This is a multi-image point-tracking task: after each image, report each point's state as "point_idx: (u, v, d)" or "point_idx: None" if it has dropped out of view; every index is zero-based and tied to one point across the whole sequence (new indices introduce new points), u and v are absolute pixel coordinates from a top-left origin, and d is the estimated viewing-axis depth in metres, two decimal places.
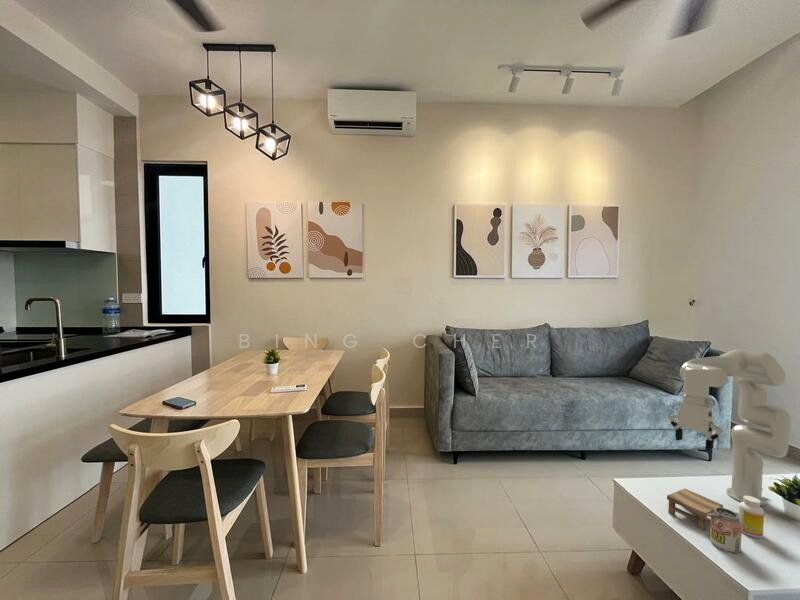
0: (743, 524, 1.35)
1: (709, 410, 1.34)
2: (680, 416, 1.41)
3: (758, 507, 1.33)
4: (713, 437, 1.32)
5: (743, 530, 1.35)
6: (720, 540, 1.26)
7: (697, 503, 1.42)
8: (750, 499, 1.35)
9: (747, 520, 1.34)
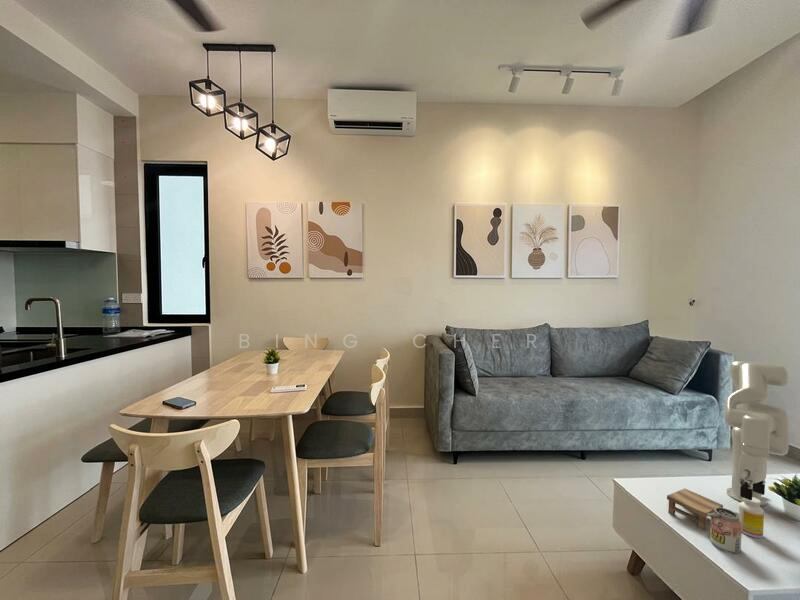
0: (743, 524, 1.35)
1: None
2: (756, 473, 1.31)
3: (758, 507, 1.33)
4: None
5: (743, 530, 1.35)
6: (720, 540, 1.26)
7: (697, 503, 1.42)
8: None
9: (747, 520, 1.34)
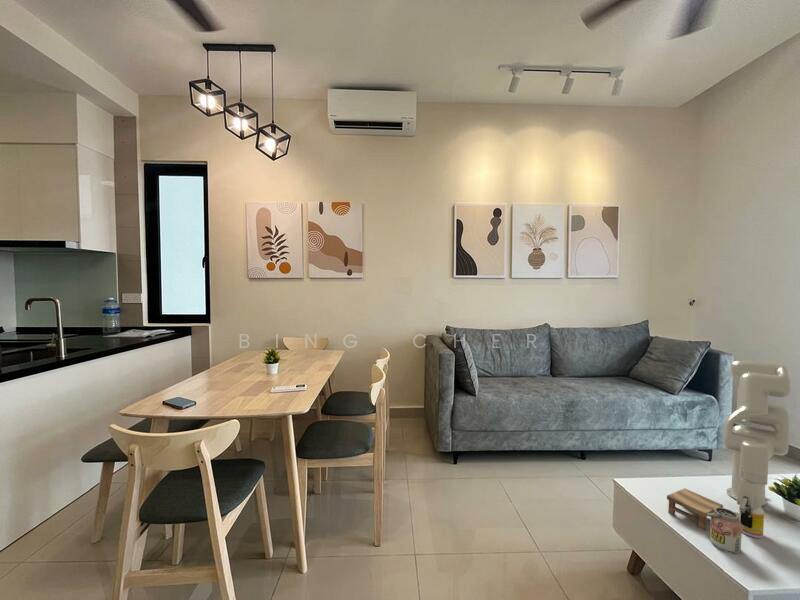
0: None
1: None
2: (755, 500, 1.32)
3: None
4: None
5: (743, 530, 1.35)
6: (720, 540, 1.26)
7: (697, 503, 1.42)
8: None
9: None
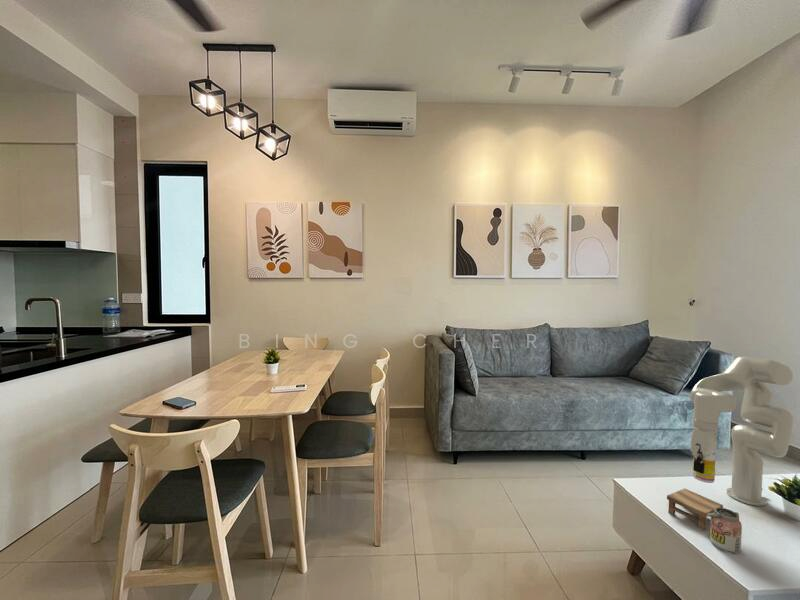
0: None
1: None
2: (706, 446, 1.38)
3: (710, 454, 1.40)
4: None
5: (696, 476, 1.42)
6: (720, 540, 1.26)
7: (697, 503, 1.42)
8: None
9: None
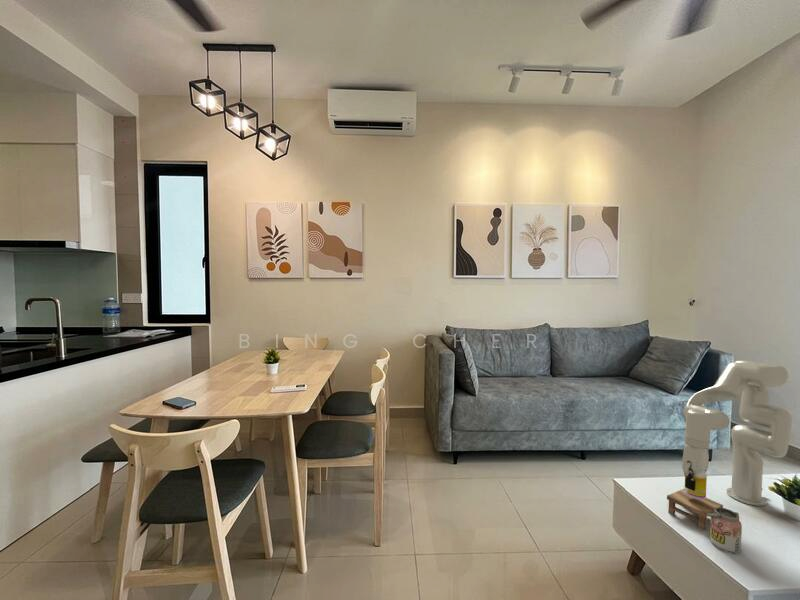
0: None
1: None
2: (697, 464, 1.40)
3: (701, 471, 1.42)
4: (705, 471, 1.45)
5: (688, 493, 1.43)
6: (720, 540, 1.26)
7: (697, 503, 1.42)
8: None
9: None
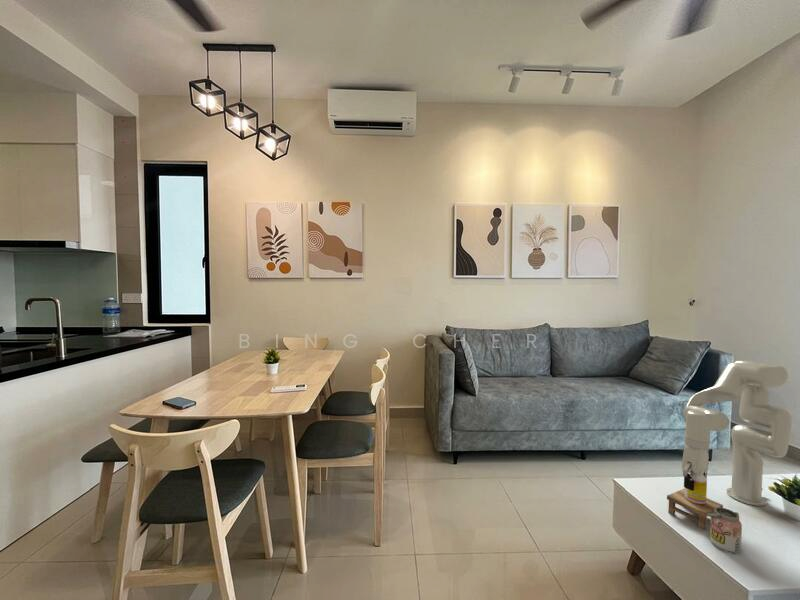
0: (688, 491, 1.43)
1: None
2: (697, 465, 1.40)
3: (701, 475, 1.42)
4: None
5: (688, 497, 1.43)
6: (720, 540, 1.26)
7: None
8: None
9: None
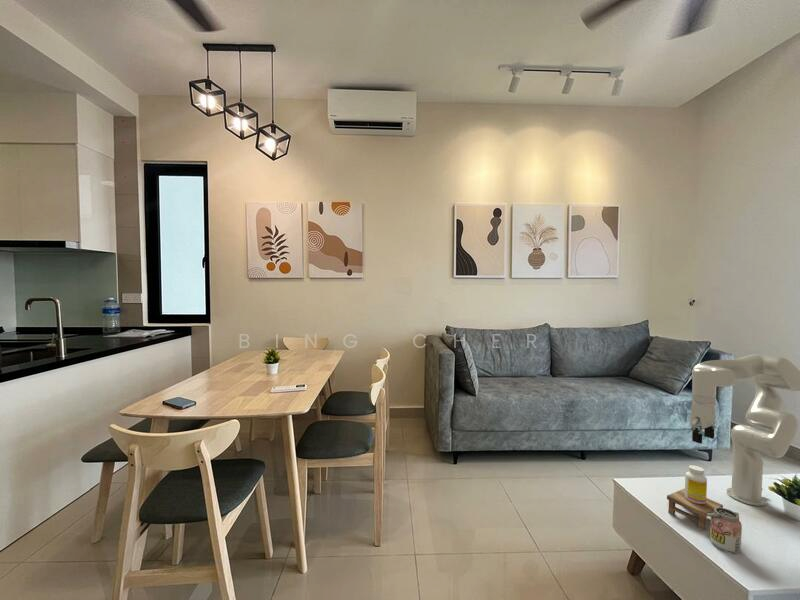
0: (688, 491, 1.43)
1: None
2: (705, 419, 1.46)
3: (701, 475, 1.42)
4: (713, 424, 1.52)
5: (688, 497, 1.43)
6: (720, 540, 1.26)
7: None
8: (694, 468, 1.43)
9: (691, 488, 1.42)
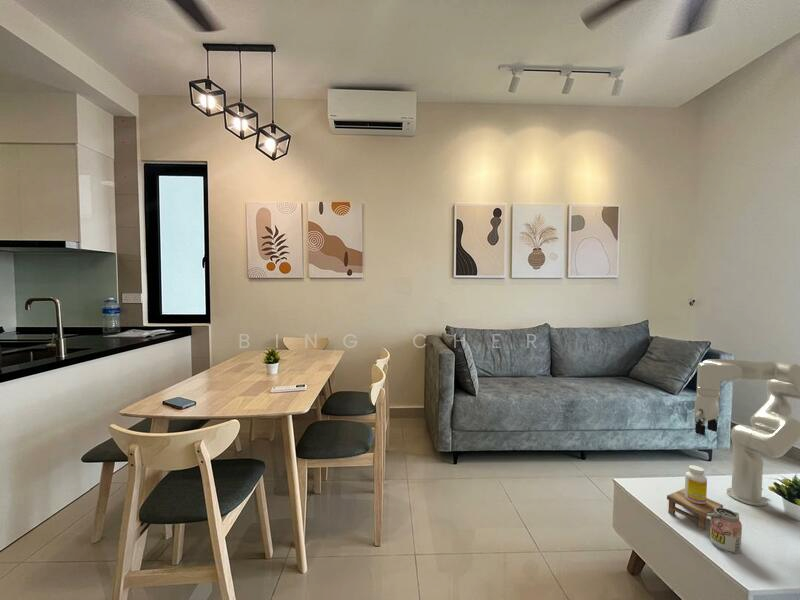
0: (688, 491, 1.43)
1: None
2: (708, 411, 1.50)
3: (701, 475, 1.42)
4: (716, 418, 1.56)
5: (688, 497, 1.43)
6: (720, 540, 1.26)
7: None
8: (694, 468, 1.43)
9: (691, 488, 1.42)
